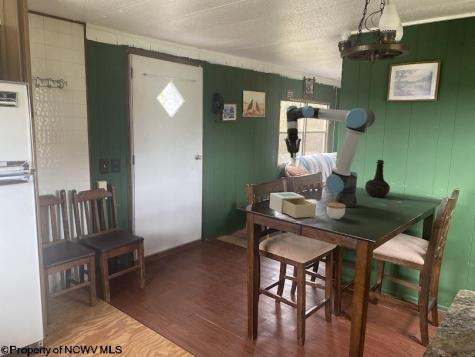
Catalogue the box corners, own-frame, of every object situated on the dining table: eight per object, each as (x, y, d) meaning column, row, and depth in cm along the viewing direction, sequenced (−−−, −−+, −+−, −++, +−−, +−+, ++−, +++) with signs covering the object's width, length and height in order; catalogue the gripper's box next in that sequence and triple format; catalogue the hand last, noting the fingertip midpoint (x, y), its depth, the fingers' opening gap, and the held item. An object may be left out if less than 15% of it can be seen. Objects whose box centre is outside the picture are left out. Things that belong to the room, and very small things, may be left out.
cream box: (269, 207, 227) (270, 193, 226) (291, 206, 234) (292, 191, 232) (280, 213, 215) (281, 197, 213) (303, 211, 221) (304, 196, 220)
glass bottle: (368, 192, 292) (371, 158, 287) (391, 196, 281) (395, 160, 277) (361, 195, 277) (364, 159, 273) (385, 199, 267) (389, 161, 263)
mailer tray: (272, 206, 226) (273, 195, 225) (291, 205, 232) (292, 194, 230) (294, 217, 203) (295, 205, 202) (315, 216, 208) (316, 204, 207)
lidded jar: (345, 220, 204) (346, 204, 203) (325, 219, 207) (327, 203, 205) (343, 216, 215) (345, 200, 213) (325, 214, 217) (326, 199, 215)
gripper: (297, 130, 257) (298, 163, 256) (281, 129, 251) (282, 163, 250) (303, 128, 250) (304, 162, 249) (287, 127, 244) (288, 162, 244)
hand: (293, 162), depth 250 cm, fingers closed
